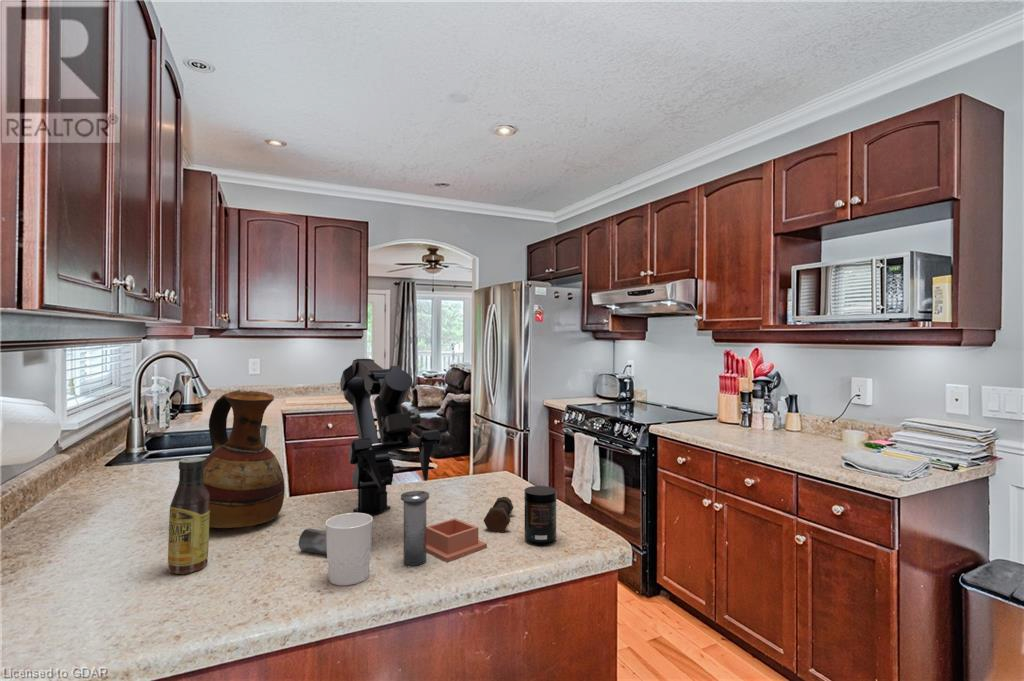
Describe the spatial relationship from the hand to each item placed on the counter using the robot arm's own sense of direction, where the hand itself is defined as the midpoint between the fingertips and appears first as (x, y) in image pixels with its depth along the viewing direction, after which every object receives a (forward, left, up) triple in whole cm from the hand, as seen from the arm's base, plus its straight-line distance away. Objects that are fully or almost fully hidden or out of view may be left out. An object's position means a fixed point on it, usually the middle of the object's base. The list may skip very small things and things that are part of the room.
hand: (404, 483), depth 103 cm
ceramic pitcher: (-42, -8, -13) cm, 45 cm away
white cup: (0, -15, -13) cm, 20 cm away
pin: (-10, -9, -13) cm, 19 cm away
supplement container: (+23, +16, -13) cm, 31 cm away
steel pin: (+7, -5, -13) cm, 15 cm away
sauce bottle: (-27, -27, -13) cm, 40 cm away
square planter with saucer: (+9, +4, -13) cm, 16 cm away
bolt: (+10, +23, -13) cm, 28 cm away
